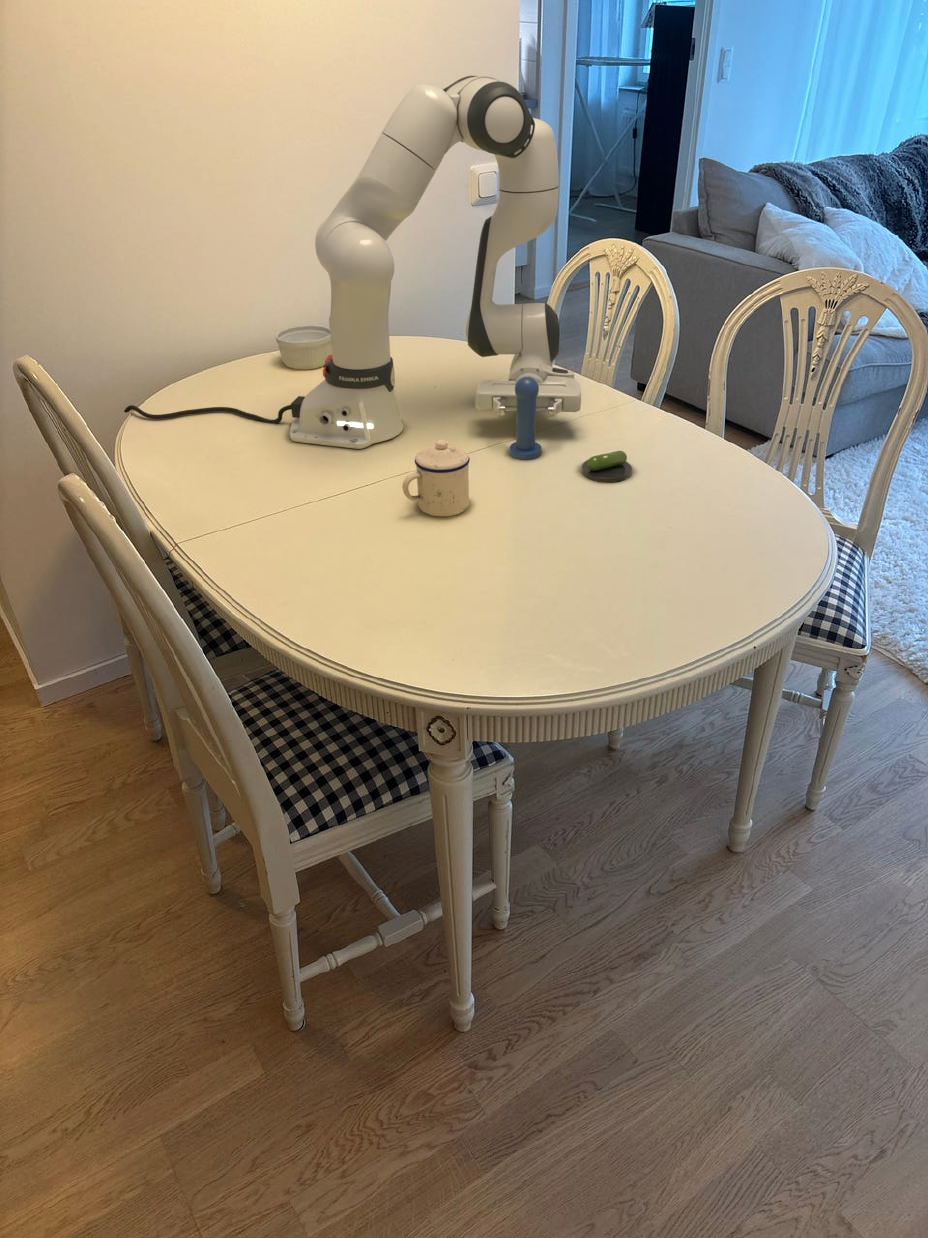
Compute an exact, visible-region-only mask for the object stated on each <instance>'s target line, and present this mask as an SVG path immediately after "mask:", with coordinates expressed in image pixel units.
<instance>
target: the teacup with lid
mask: <svg viewBox="0 0 928 1238" xmlns="http://www.w3.org/2000/svg"><path fill="white" fill-rule="evenodd" d="M470 460H471V459H470V456H469V453H468V452H467V451H466V450H465V449H464V448H462V447H459V446H456V445H452V444H449V443H448V441H447V440H445V439H438V440H436V441H435V444H434V445H431V446H427V447H424V448H422V449H421V450H419V451H418V452H417V453H416V455H415V458H414V464H415V466H416V472H412V473H410V474H407V476H406V477H405V478H404V480H403V482H402V492H403V494H404V496H405V497H406V498H407V499H408V500H410V501H411V502H417V505H418V507H419V509H420V511H422V512H423V513H425V514H427V515H430V516H432V517H433V516H434V517H451V516H456V515H459V514H461V513H464V511H466V510H467V509H468V507H469V505H470V485H469V484H470V481H469V480H470V479H469V463H470ZM413 480H416V484H417V495H411V493H410V490H409V485H410V484H411V482H412V481H413Z"/></svg>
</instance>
